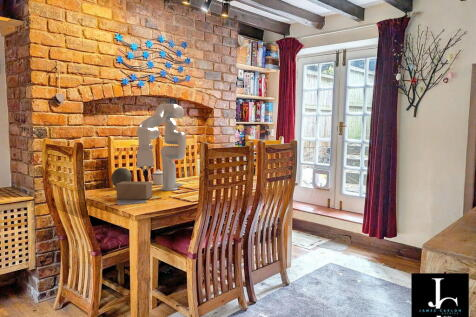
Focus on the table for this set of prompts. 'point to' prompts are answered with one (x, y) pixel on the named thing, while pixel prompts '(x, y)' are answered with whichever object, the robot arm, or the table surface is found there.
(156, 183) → the teacup with lid
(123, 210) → the table surface
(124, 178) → the dark grey ball
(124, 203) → the mat
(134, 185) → the wooden block
